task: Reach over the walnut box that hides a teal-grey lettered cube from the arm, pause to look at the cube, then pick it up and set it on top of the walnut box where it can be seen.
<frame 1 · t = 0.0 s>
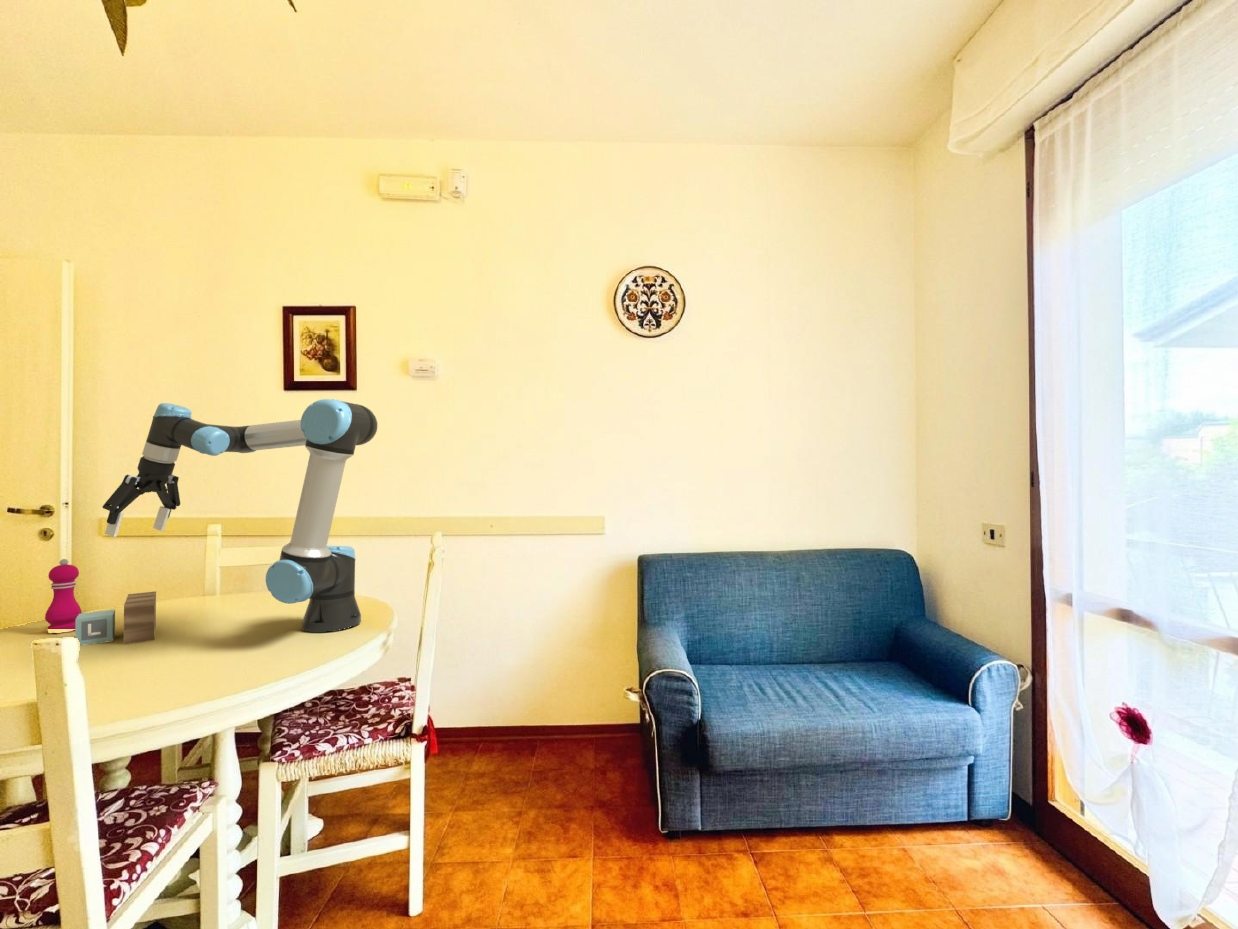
hand: (135, 532, 152), 28 cm above the table, tool tilted 20°, fingers open, 13 cm apart
pepper mill: (63, 631, 154), on the table
letter cube: (95, 640, 146), on the table
walnut box: (140, 634, 151), on the table
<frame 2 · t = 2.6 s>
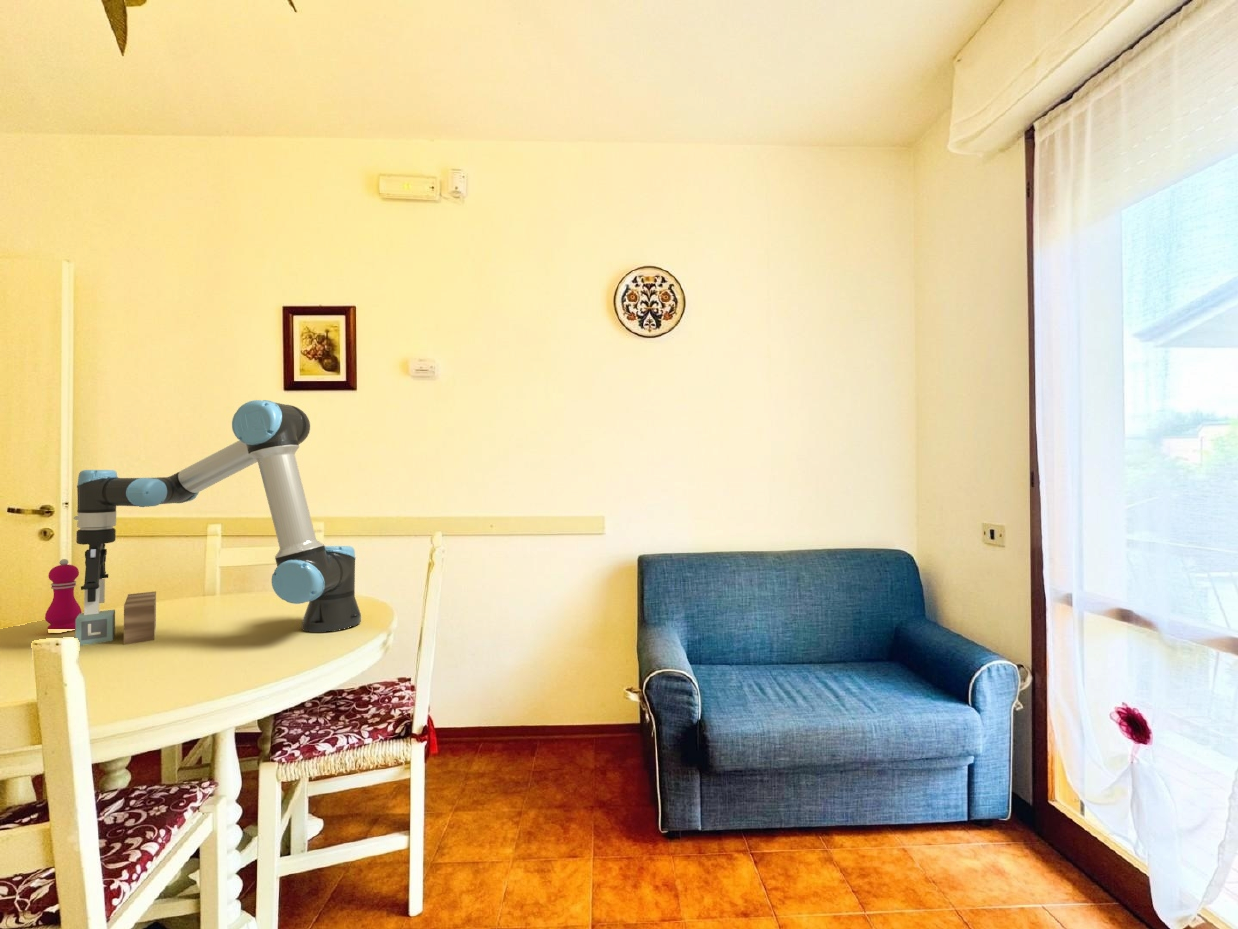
hand: (94, 608, 146), 8 cm above the table, tool pointing down, fingers open, 13 cm apart
nothing on the table moved.
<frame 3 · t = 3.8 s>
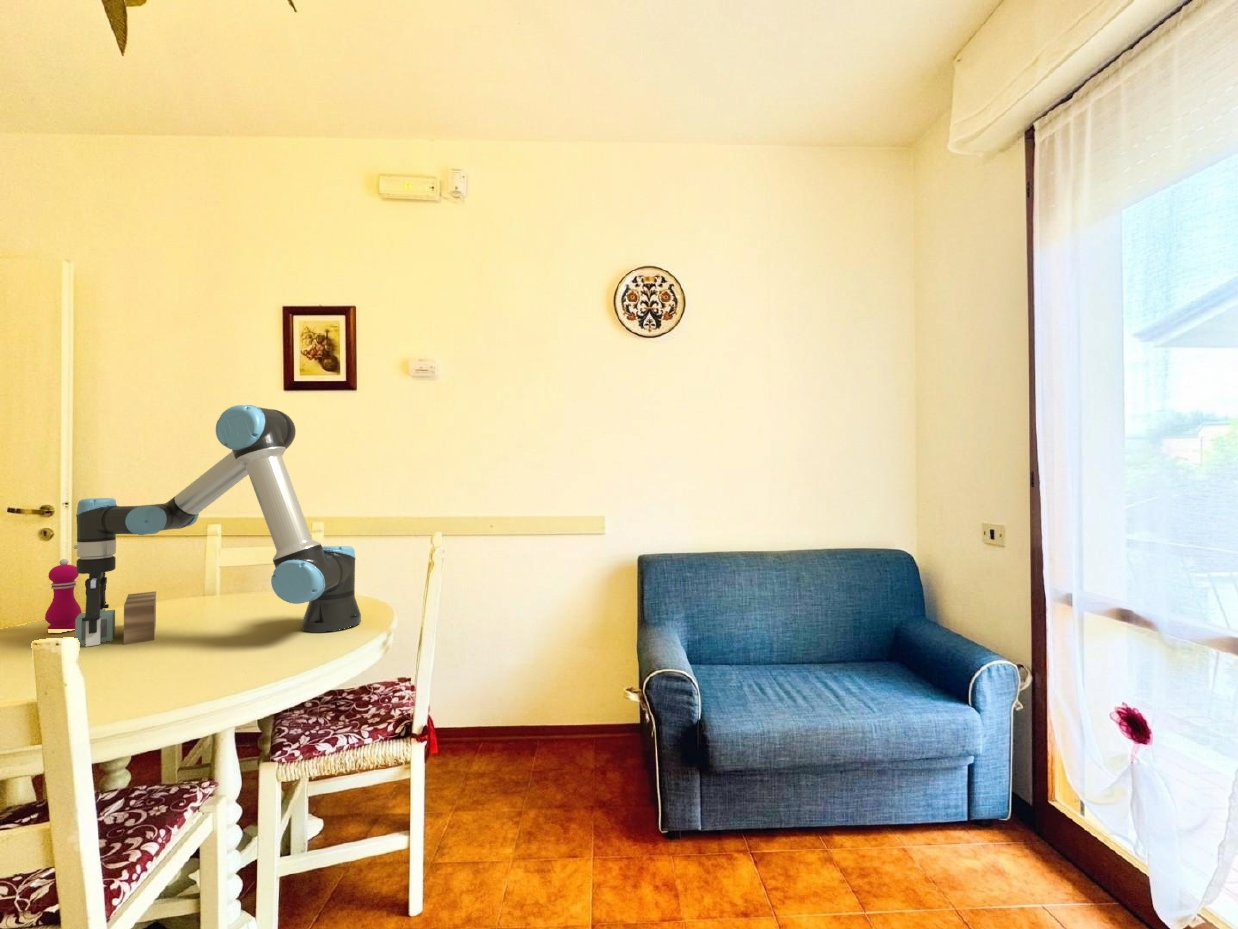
hand: (95, 639, 146), 0 cm above the table, tool pointing down, fingers open, 11 cm apart
nothing on the table moved.
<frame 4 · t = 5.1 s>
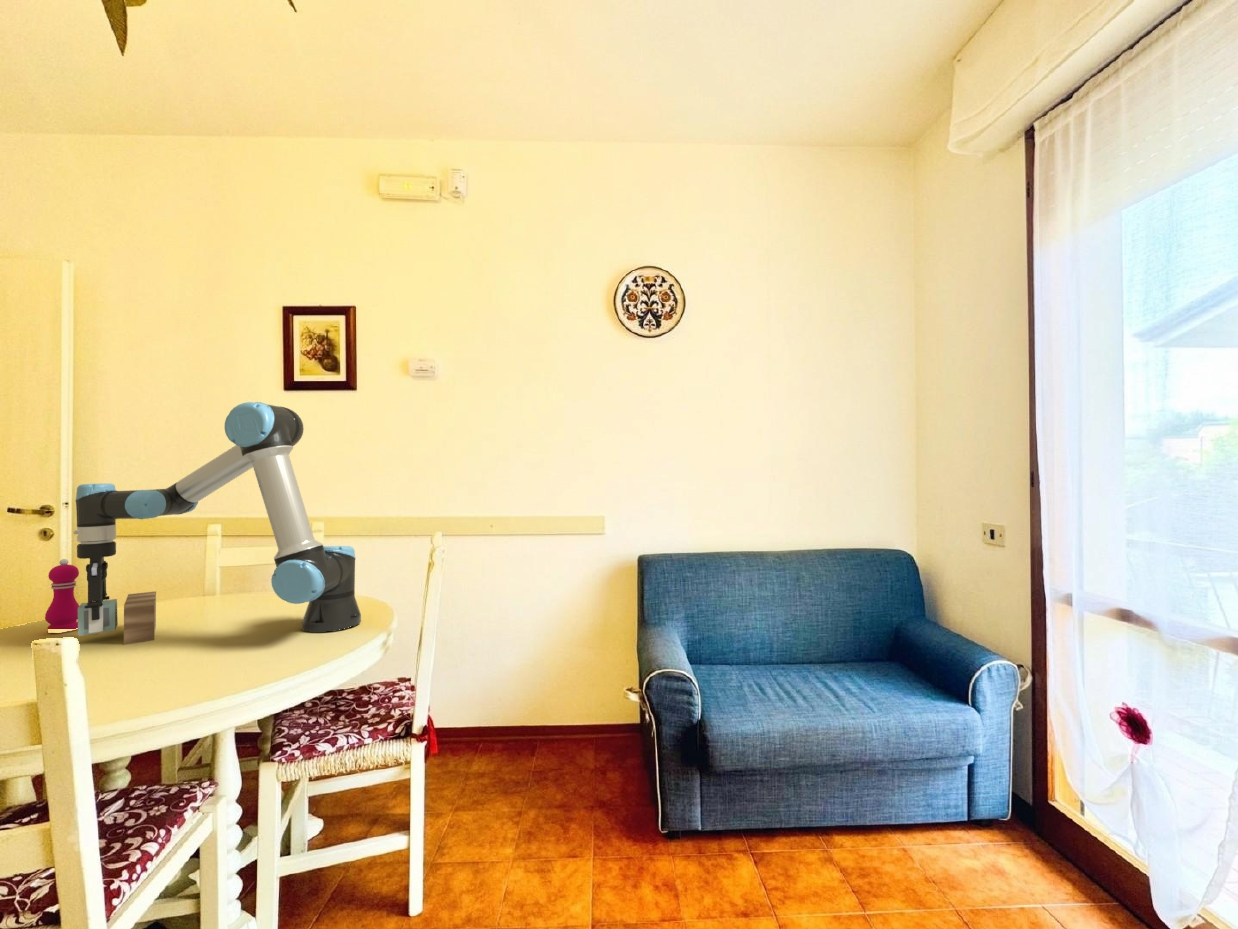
hand: (97, 628, 146), 3 cm above the table, tool pointing down, fingers closed on letter cube, 7 cm apart
letter cube: (98, 630, 146), point 3 cm above the table, touching gripper
everything else where it was.
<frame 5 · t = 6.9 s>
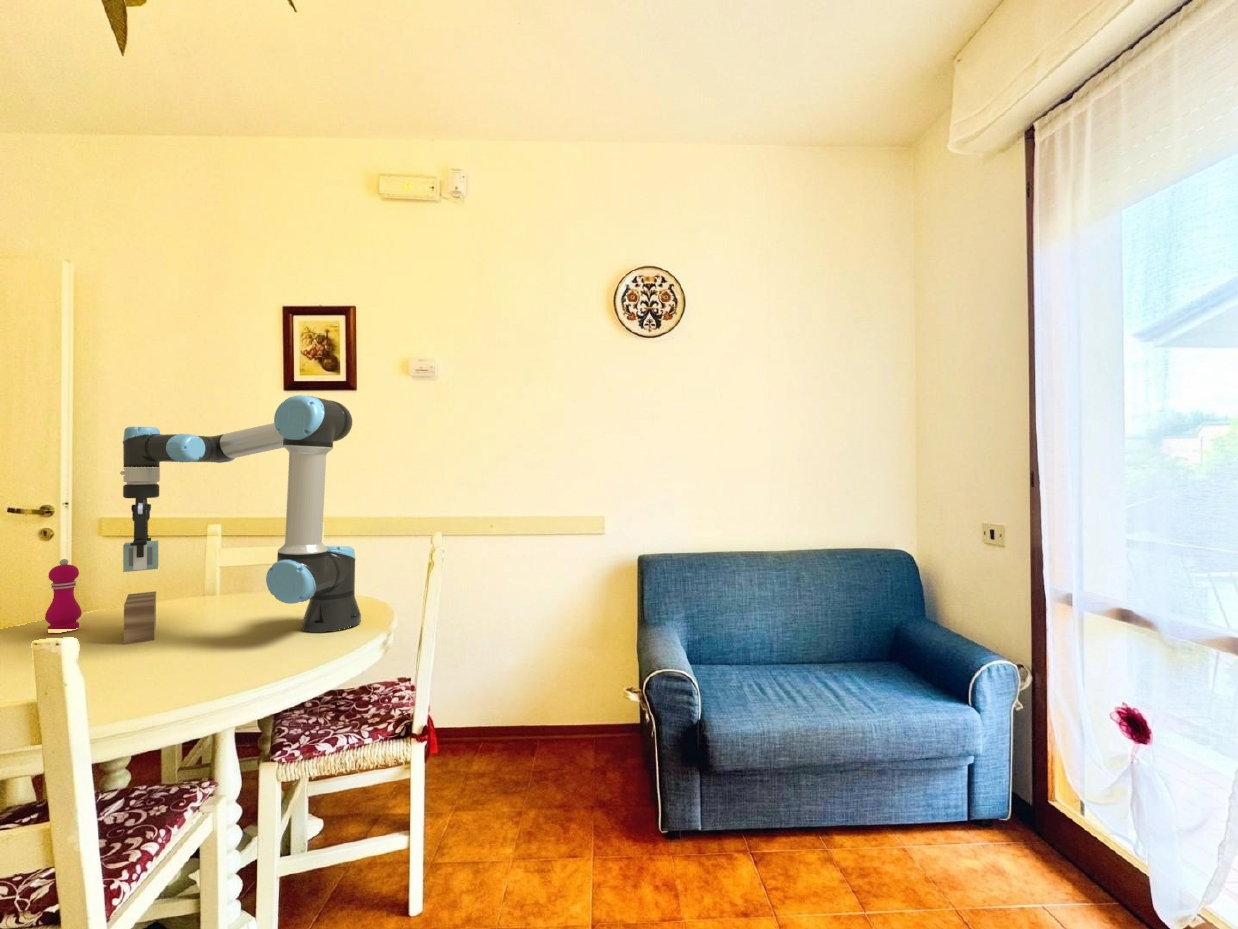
hand: (140, 567, 151), 18 cm above the table, tool pointing down, fingers closed on letter cube, 7 cm apart
letter cube: (141, 568, 151), point 18 cm above the table, touching gripper
everything else where it was.
when the fingers open (11 cm above the table, at t = 8.6 s): letter cube stays where it is, resting on walnut box.
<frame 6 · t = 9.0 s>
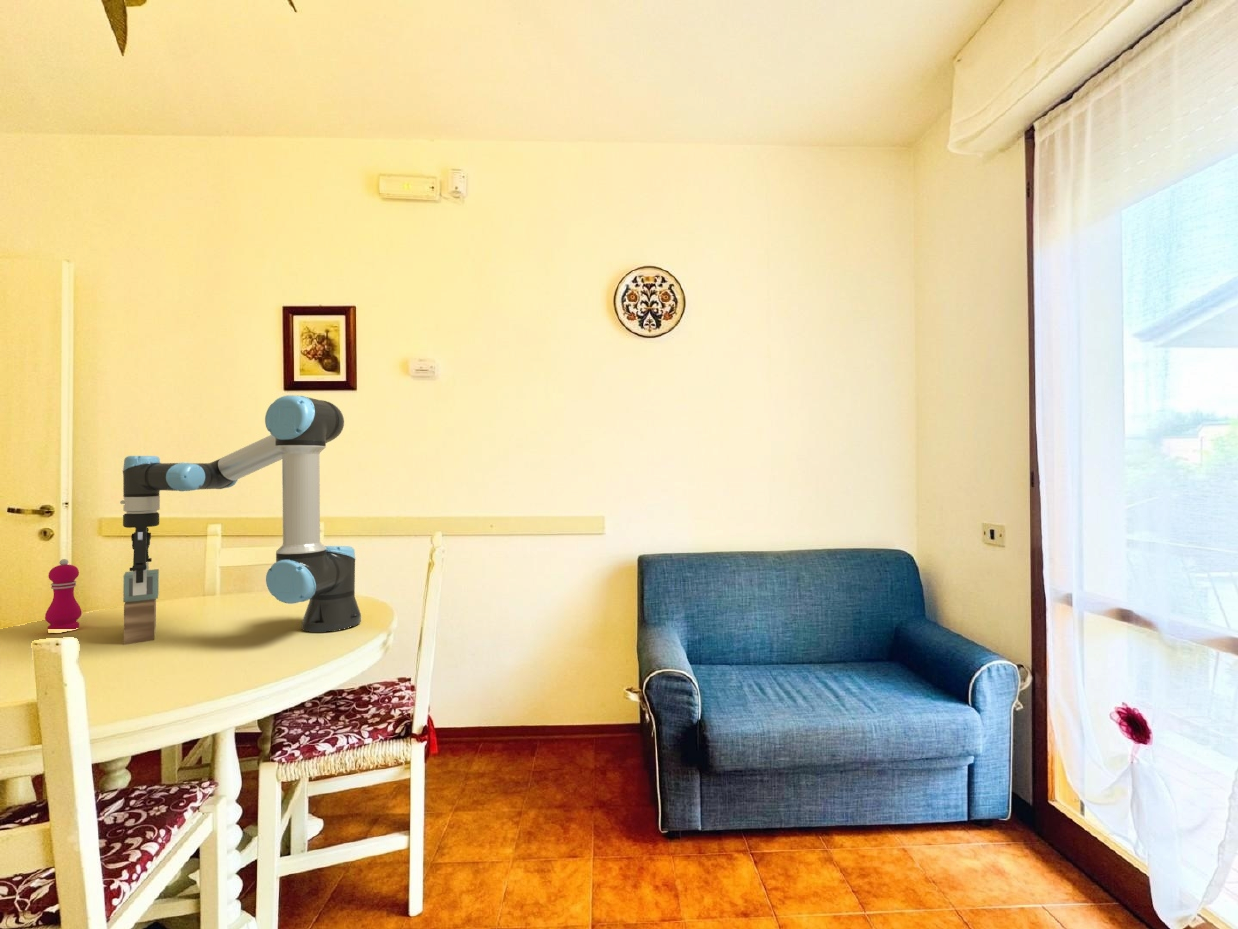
hand: (140, 590, 151), 12 cm above the table, tool pointing down, fingers open, 13 cm apart
letter cube: (141, 598, 151), point 10 cm above the table, touching walnut box
everything else where it was.
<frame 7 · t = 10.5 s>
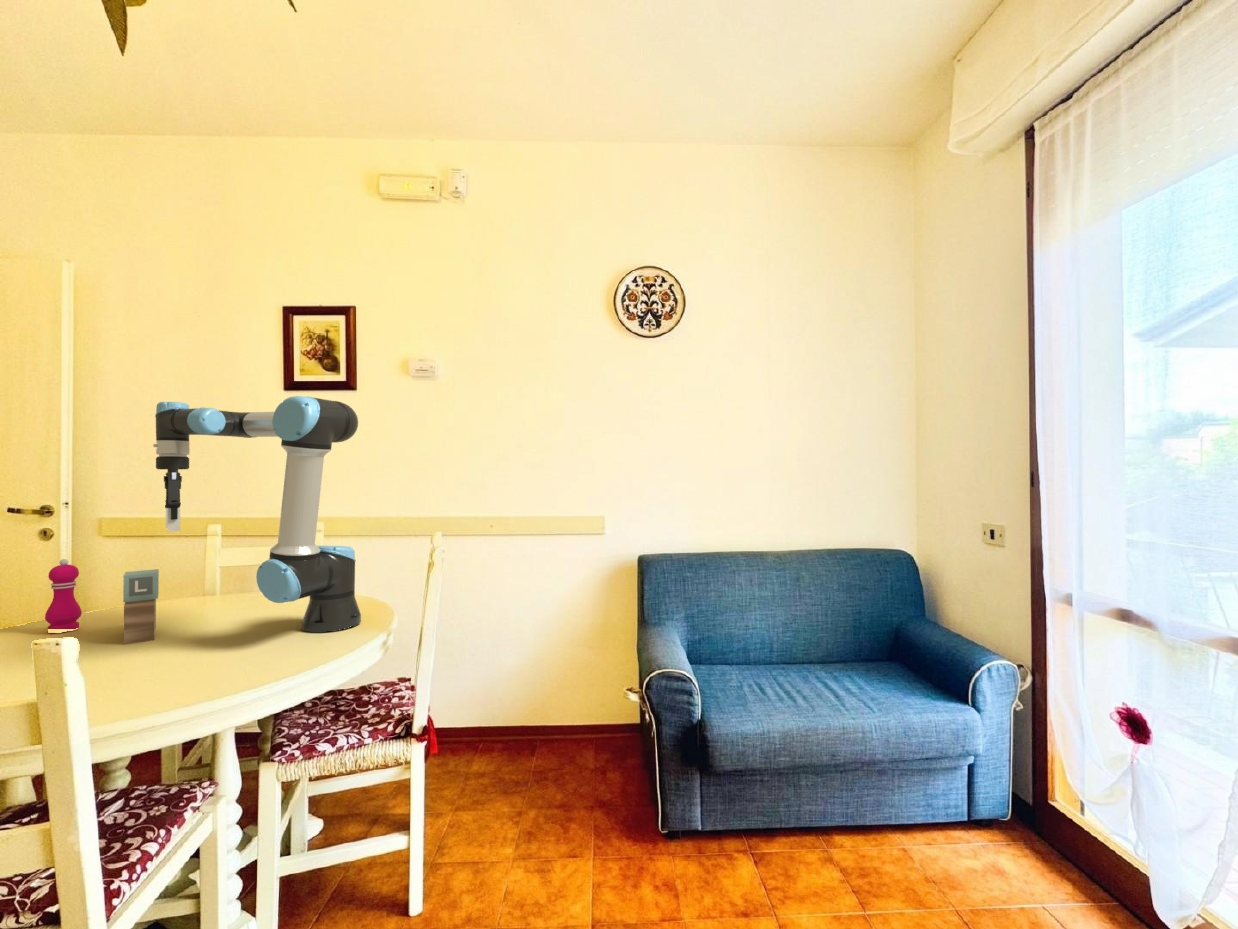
hand: (172, 529, 159), 28 cm above the table, tool pointing down, fingers open, 13 cm apart
nothing on the table moved.
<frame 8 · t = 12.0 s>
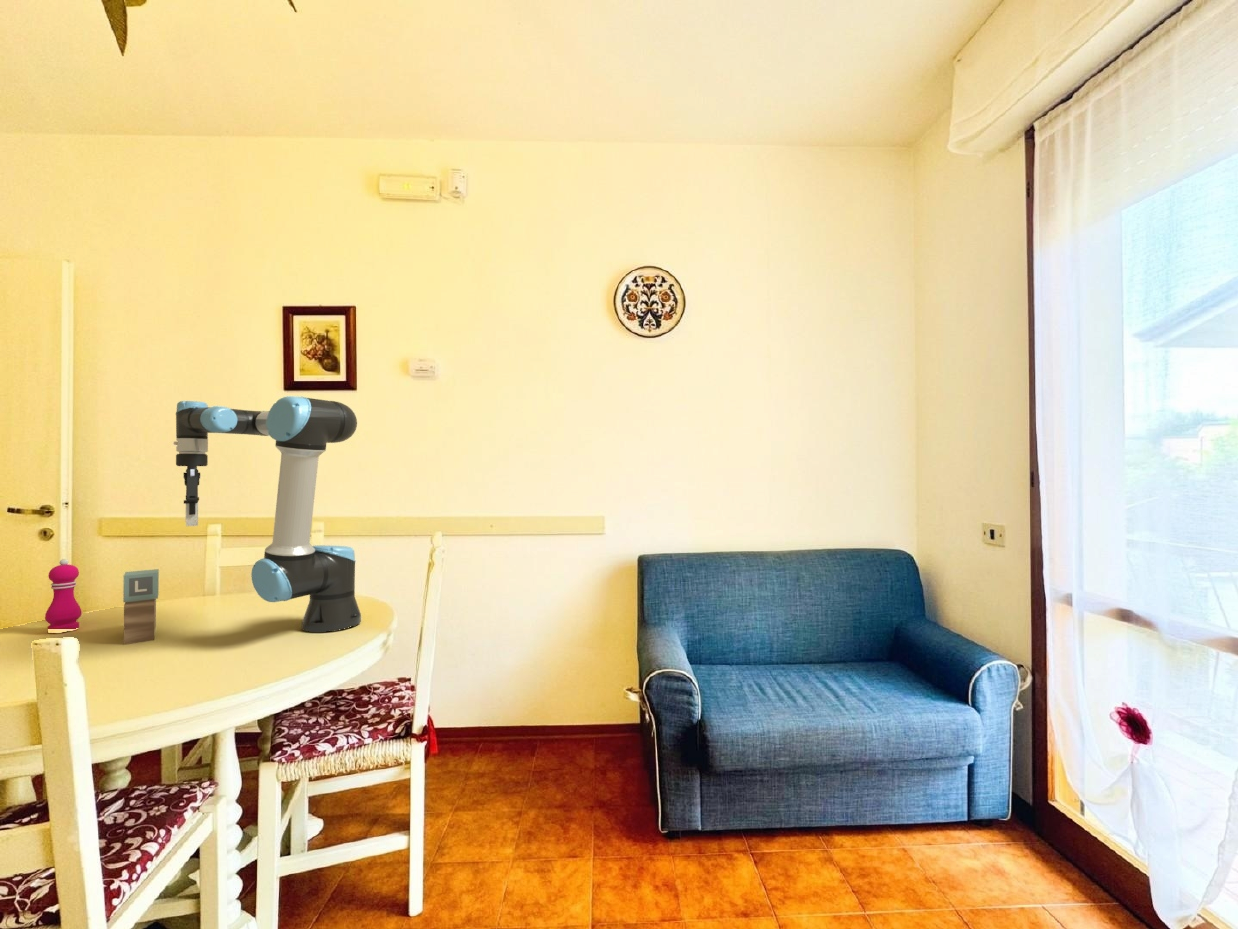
hand: (191, 524, 165), 29 cm above the table, tool pointing down, fingers open, 13 cm apart
nothing on the table moved.
at the end: letter cube inside the target area on the walnut box (0.1 cm from its centre), point 10.0 cm above the walnut box's base; letter cube tilted 0°; the gripper is holding nothing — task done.
